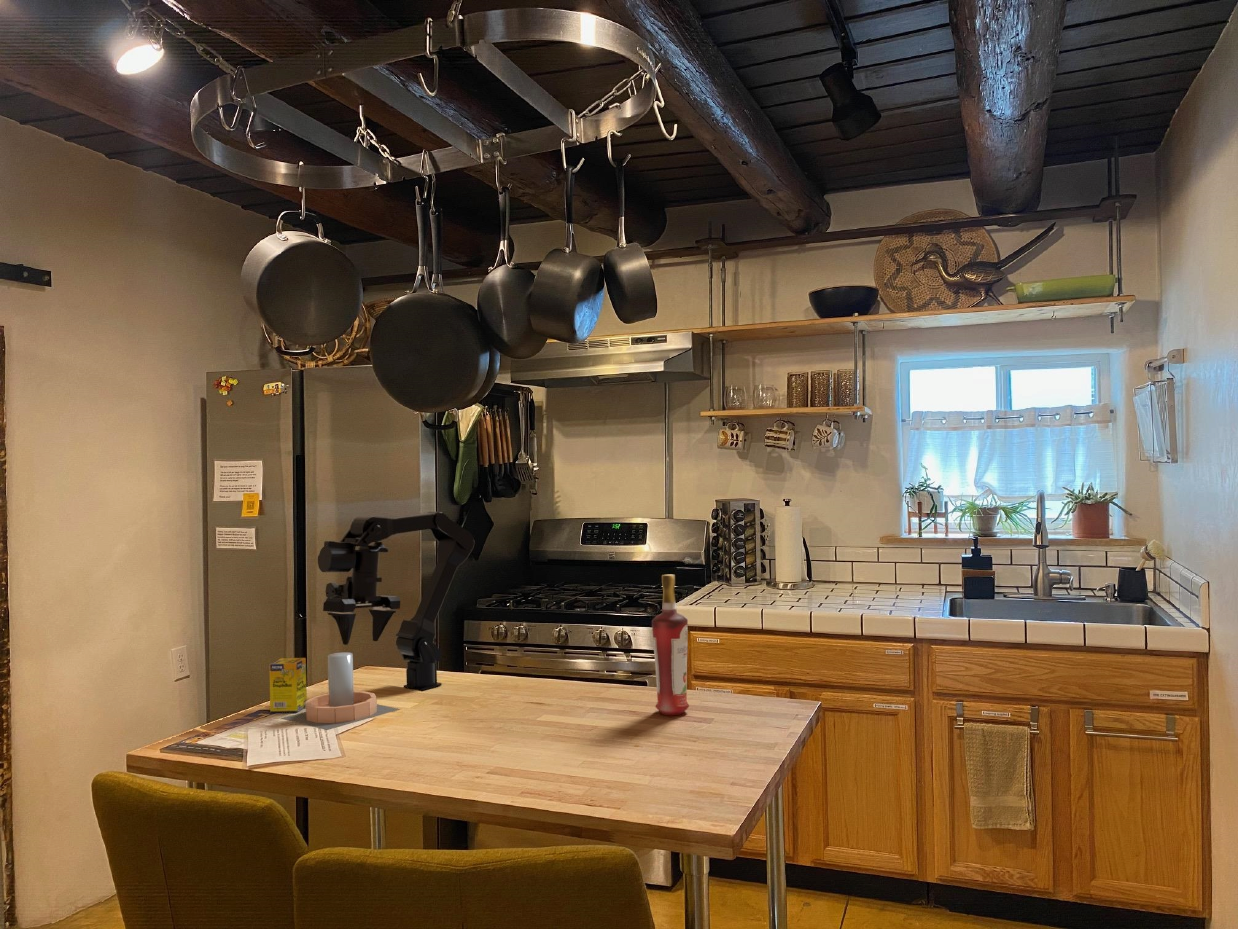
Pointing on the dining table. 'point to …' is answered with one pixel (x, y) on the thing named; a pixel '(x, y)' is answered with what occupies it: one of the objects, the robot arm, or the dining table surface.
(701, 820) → the dining table surface
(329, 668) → the cylinder
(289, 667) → the supplement box
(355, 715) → the dish
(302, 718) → the mat
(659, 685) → the liquor
